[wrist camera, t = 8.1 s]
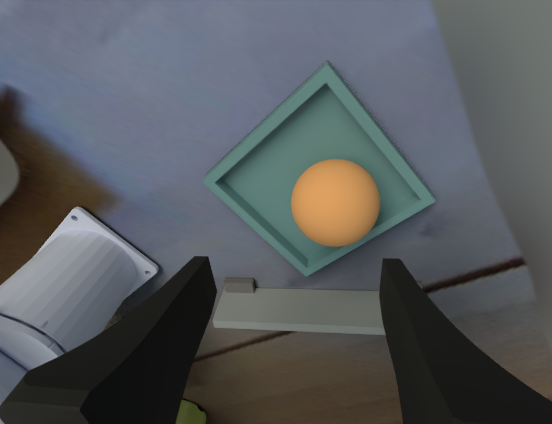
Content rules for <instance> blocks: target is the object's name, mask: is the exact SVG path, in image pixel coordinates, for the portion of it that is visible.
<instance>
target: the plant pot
mask: <svg viewBox="0 0 552 424" xmlns="http://www.w3.org/2000/svg"><path fill="white" fill-rule="evenodd" d="M205 423H206V414H205V412H204V411H202V412H201V411H200V410H199V409H198V407H197V405H195V404H193V403H191V402H188V401H185V400H181V404H180V408H179V412H178V416H177V420H176V424H205Z"/></svg>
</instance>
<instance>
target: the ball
mask: <svg viewBox="0 0 552 424" xmlns="http://www.w3.org/2000/svg"><path fill="white" fill-rule="evenodd" d="M291 209H292V214H293V217H294V220H295V222H296V224H297V226H298V227H299V229H300V230H301V231H302V232H303V233H304V234H305V235H306V236H307V237H308V238H309V239H311V240H313V241H314V242H316V243H319V244H321V245H325V246H330V247H341V246H346V245H350V244H352V243H355V242H357V241H359V240H360V239H362V238H363V237H364V236H365V235H366V234H367V233H368V232H369V231H370V230H371V229H372V227H373V226H374V224H375V223H376V220H377V218H378V215H379V211H380V194H379V191H378V187H377V185H376V183H375V181H374V179H373V178H372V177H371V175H370V174H369V173H368V172H367V171H366V170H365V169H364V168H362V167H361V166H359V165H358V164H356V163H353V162H351V161H347V160H343V159H329V160H324V161H321V162H318V163H316V164H314V165H312V166H311V167H309V168H308V169H307V170H306V171H305V172H304V173H303V174H302V175H301V176H300V177H299V179H298V180H297V182H296V184H295V186H294V189H293V192H292V197H291Z"/></svg>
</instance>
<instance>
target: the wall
mask: <svg viewBox="0 0 552 424" xmlns="http://www.w3.org/2000/svg"><path fill="white" fill-rule="evenodd" d="M417 283H418V285H419V286H420V287H421V289H423V287H422V284H421V282H417ZM379 292H380V291H355V290H314V289H272V288H255V284H254V278H225V280H224V290H223V293H222V295H221V298H220V301H219V304H218V306H217V309H216V312H215V315H214V318H213V320H212V321H213V324H214V327H215V328H238V329H260V330H282V331H305V332H327V333H349V334H372V335H386V334H385V330H384V326H383V321H382V315H381V307H380V299H379Z"/></svg>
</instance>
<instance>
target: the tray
mask: <svg viewBox="0 0 552 424" xmlns="http://www.w3.org/2000/svg"><path fill="white" fill-rule="evenodd" d="M329 159H343V160H347V161H351V162H353V163H356V164H358V165H359V166H361V167H362V168H364V169H365V170H366V171H367V172H368V173H369V174H370V175H371V177H372V178H373V179H374V181H375V183H376V185H377V187H378V191H379V194H380V211H379V215H378V218H377V220H376V223H375V224H374V226H373V227H372V229H371V230H370V231H369V232H368V233H367V234H366V235H365V236H364V237H363V238H362V239H360V240H359V241H357V242H355V243H352V244H350V245H346V246H341V247H330V246H325V245H321V244H319V243H316V242H314V241H313V240H311V239H309V238H308V237H307V236H306V235H305V234H304V233H303V232H302V231H301V230H300V229H299V227H298V226H297V224H296V222H295V220H294V217H293V214H292V209H291V197H292V192H293V189H294V186H295V184H296V182H297V180H298V179H299V177H300V176H301V175H302V174H303V173H304V172H305V171H306V170H307V169H308V168H309V167H311V166H312V165H314V164H316V163H318V162H321V161H324V160H329ZM202 182H203V183H204V184H205V185H206V186H207V187H208V188H209V189H210V190H211V191H212V192H213V193H215V194H216V195H217V196H218V197H219V198H220V199H221V200H222V201H223V202H224V203H226V204H227V205H228V206H229V207H230V208H231V209H232V210H233V211H234V212H235V213H237V214H238V215H239V216H240V217H241V218H242V219H243V220H244V221H245V222H246V223H247V224H249V225H250V226H251V227H252V228H253V229H254V230H255V231H256V232H257V233H258V234H260V235H261V236H262V237H263V238H264V239H265V240H266V241H267V242H268V243H269V244H271V245H272V246H273V247H274V248H275V249H276V250H277V251H278V252H279V253H280V254H281V255H283V256H284V257H285V258H286V259H287V260H288V261H289V262H290V263H291V264H292V265H294V266H295V267H296V268H297V269H298V270H299V271H300V272H301V273H302V274H303V275H305V276H306V277H307V276H309V275H311V274H312V273H314V272H316V271H317V270H319V269H321V268H323V267H324V266H326V265H328V264H329V263H331V262H333V261H335V260H336V259H338V258H340V257H341V256H343V255H345V254H347V253H348V252H350V251H352V250H353V249H355V248H357V247H359V246H360V245H362V244H364V243H365V242H367V241H369V240H371V239H372V238H374V237H376V236H377V235H379V234H381V233H383V232H384V231H386V230H388V229H389V228H391V227H393V226H395V225H396V224H398V223H400V222H401V221H403V220H405V219H407V218H408V217H410V216H412V215H413V214H415V213H417V212H419V211H420V210H422V209H424V208H425V207H427V206H429V205H431V204H432V203H434V202H436V200H435V198H434V196H433V195H432V193H431V191H430V189H429V188H428V187H427V185H426V184H425V183H424V182H423V180H422V179H421V178H420V177H419V175H418V174H417V173H416V172H415V170H414V169H413V168H412V166H411V165H410V164H409V163H408V161H407V160H406V159H405V158H404V156H403V155H402V154H401V153H400V151H399V150H398V149H397V147H396V146H395V145H394V144H393V142H392V141H391V140H390V139H389V137H388V136H387V135H386V133H385V132H384V131H383V130H382V128H381V127H380V126H379V125H378V123H377V122H376V121H375V120H374V118H373V117H372V116H371V114H370V113H369V112H368V111H367V109H366V108H365V107H364V106H363V104H362V103H361V102H360V101H359V99H358V98H357V97H356V95H355V94H354V93H353V92H352V90H351V89H350V88H349V87H348V85H347V84H346V83H345V82H344V80H343V79H342V78H341V76H340V75H339V74H338V73H337V71H336V70H335V69H334V68H333V66H332V65H331V64H330V63H329V61H328V60H327V61H326V62H325V63H324V64H323V65H322V66H321V67H320V68H319V69H318V70H317V71H315V72H314V73H313V74H312V75H311V76H310V77H309V78H308V79H307V80H306V81H305V82H304V83H303V84H302V85H301V86H299V87H298V88H297V89H296V90H295V91H294V92H293V93H292V94H291V95H290V96H289V97H288V98H287V99H286V100H284V101H283V102H282V103H281V104H280V105H279V106H278V107H277V108H276V109H275V110H274V111H273V112H272V113H271V114H270V115H268V116H267V117H266V118H265V119H264V120H263V121H262V122H261V123H260V124H259V125H258V126H257V127H256V128H255V129H254V130H252V131H251V132H250V133H249V134H248V135H247V136H246V137H245V138H244V139H243V140H242V141H241V142H240V143H239V144H238V145H236V146H235V147H234V148H233V149H232V150H231V151H230V152H229V153H228V154H227V155H226V156H225V157H224V158H223V159H222V160H220V161H219V162H218V163H217V164H216V165H215V166H214V167H213V168H212V169H211V170H210V171H209V172H208V173H207V175H206V176H205V177H204V179H203V180H202Z"/></svg>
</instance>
